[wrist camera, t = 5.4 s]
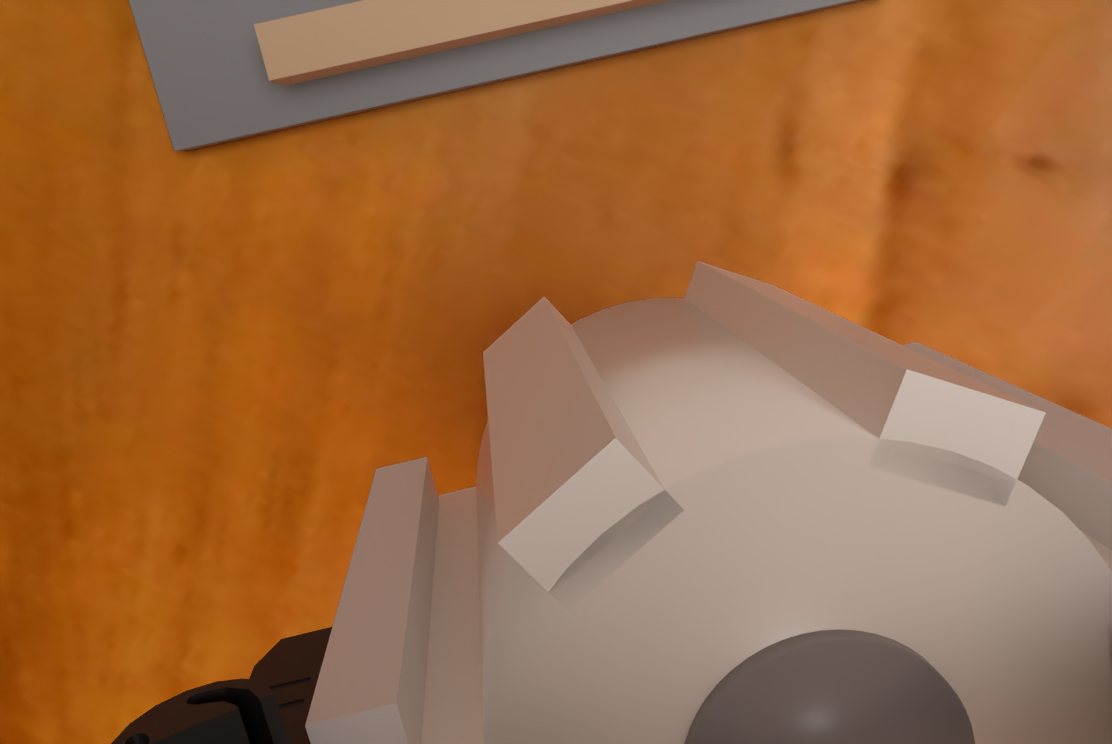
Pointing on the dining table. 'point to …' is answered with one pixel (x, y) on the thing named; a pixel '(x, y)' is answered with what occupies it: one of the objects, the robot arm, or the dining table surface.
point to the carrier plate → (389, 51)
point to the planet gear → (756, 542)
